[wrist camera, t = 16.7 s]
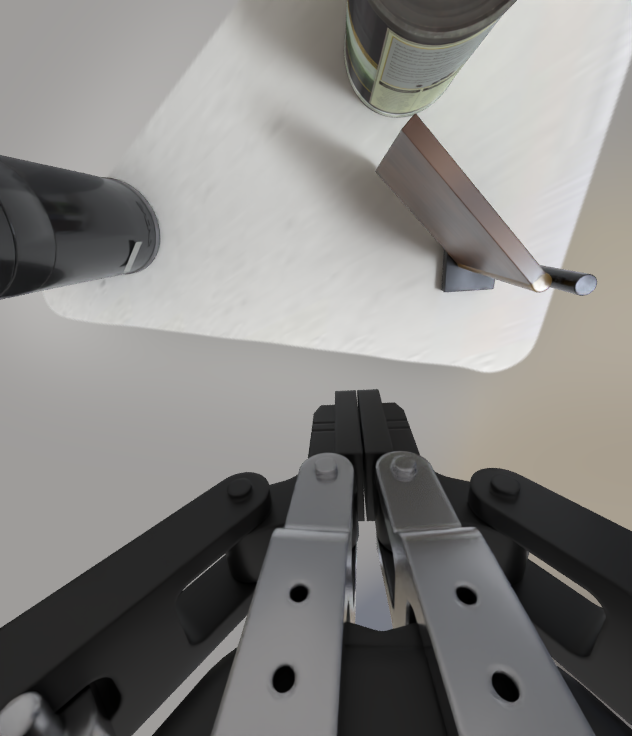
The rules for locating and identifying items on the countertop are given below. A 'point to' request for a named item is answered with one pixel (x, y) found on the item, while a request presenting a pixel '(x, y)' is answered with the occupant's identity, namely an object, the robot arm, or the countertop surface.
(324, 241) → the countertop surface
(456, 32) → the coffee can
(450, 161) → the door
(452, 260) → the hinge post
